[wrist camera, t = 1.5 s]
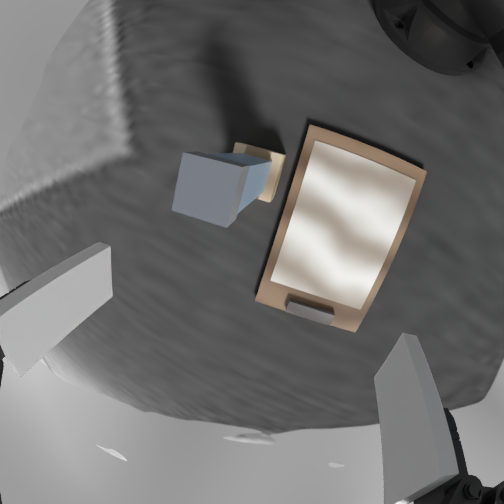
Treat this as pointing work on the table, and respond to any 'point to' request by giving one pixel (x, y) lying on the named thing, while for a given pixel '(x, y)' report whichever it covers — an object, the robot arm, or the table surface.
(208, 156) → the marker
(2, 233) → the table surface
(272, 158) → the stand
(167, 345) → the table surface
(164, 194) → the table surface
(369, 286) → the clipboard
